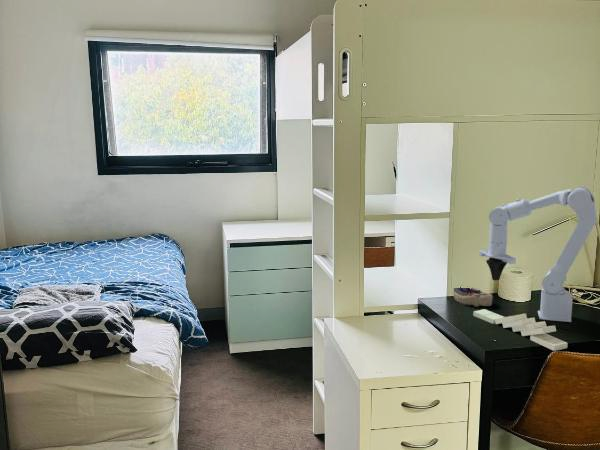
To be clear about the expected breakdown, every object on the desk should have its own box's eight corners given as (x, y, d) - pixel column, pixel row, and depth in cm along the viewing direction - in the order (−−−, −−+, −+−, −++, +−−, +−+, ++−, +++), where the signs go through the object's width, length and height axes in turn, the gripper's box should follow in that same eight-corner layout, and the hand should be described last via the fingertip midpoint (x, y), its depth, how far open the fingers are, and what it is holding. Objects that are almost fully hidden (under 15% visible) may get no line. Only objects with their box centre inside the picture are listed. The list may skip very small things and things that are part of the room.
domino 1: (473, 311, 186) (493, 319, 178) (484, 309, 188) (504, 317, 180) (473, 315, 186) (493, 324, 179) (484, 313, 189) (504, 321, 181)
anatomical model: (477, 294, 210) (477, 282, 209) (498, 307, 194) (499, 295, 194) (447, 296, 208) (447, 284, 207) (466, 310, 193) (467, 297, 192)
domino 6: (530, 334, 165) (554, 345, 157) (543, 332, 167) (567, 342, 158) (530, 340, 165) (554, 351, 157) (543, 337, 167) (567, 348, 159)
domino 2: (494, 319, 178) (513, 315, 170) (506, 317, 180) (525, 313, 172) (495, 324, 178) (514, 320, 170) (507, 321, 180) (527, 318, 172)
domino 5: (520, 330, 168) (542, 328, 160) (533, 328, 170) (555, 325, 162) (521, 336, 168) (543, 333, 160) (534, 333, 170) (556, 331, 162)
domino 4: (511, 326, 172) (532, 323, 164) (524, 324, 174) (545, 321, 165) (513, 331, 171) (533, 328, 163) (525, 329, 173) (546, 326, 165)
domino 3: (502, 322, 175) (521, 319, 167) (514, 320, 177) (534, 317, 169) (503, 328, 175) (523, 324, 167) (515, 325, 177) (535, 322, 168)
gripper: (473, 239, 194) (472, 276, 196) (505, 246, 181) (503, 286, 183) (488, 237, 197) (486, 273, 199) (521, 244, 184) (518, 283, 186)
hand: (495, 279), depth 191 cm, fingers closed
